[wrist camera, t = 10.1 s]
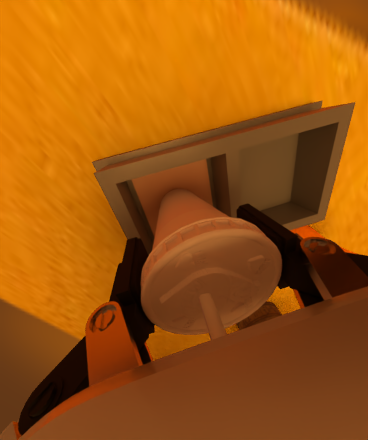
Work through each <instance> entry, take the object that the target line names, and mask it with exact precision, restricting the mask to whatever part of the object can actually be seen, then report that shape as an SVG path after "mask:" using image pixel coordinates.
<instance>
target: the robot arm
mask: <svg viewBox="0 0 368 440" xmlns="http://www.w3.org/2000/svg"><path fill="white" fill-rule="evenodd" d="M236 213H237V218H240V219H243V220H245V221H247V222H250V223H252V224H254V225H256V226H257V227H258V228H259V229H260V230H261V231H262V232H263V233H264V234H265V235H266V237H268V238H269V239H270V240H271V241H272V242H273V243H274V244H275V245H276V246H277V248H278V250H279V252H280V254H281V258H282V272H281V277H280V279H279V282H278V285H277V286H278V287H279V288H280V289H282V288H285V287H288V286H289V287H290V288H292V289H293V291H294V294H295V296H296V298H297V301H298V303H299V306H300V308H301V309H299V310H296V311H293V312H290V313H287V314H284V315H281V316H278V317H276V318H273V319H270V320H267V321H264V322H261V323H259V324H256V325H253V326H250V327H247V328H244V329H242V330H239V331H236V332H233V333H230V334H227V335H225V336H222V337H219V338H216V339H213V340H210V341H208V342H205V343H202V344H199V345H197V346H194V347H191V348H188V349H185V350H183V351H180V352H177V353H174V354H171V355H169V356H166V357H163V358H160V359H158V360H155V361H153V359H152V356H151V354H150V351H149V349H148V346H147V344H146V340H147V339H148V337H149V334H151V333H154V325H155V324H153V323H152V322H151V321H150V320H149V319H148V318H147V316H146V315H145V313H144V311H143V308H142V305H141V285H140V282H141V273H142V268H143V266H144V264H145V262H146V260H147V258H148V256H149V255H148V253H147V251H146V249H145V246H144V244H143V242H142V240H141V238H139V239H138V238H137V237H134V238H131V239H128V240H127V243H126V248H125V252H124V256H123V261H122V263H120V264H119V265H118V268H117V272H116V276H115V280H114V284H113V288H112V292H111V296H110V300H109V302H106V303H104V304H102V305H101V306H99V307H98V308H97V309H96V310H95V311H94V312H93V313H92V314H91V316H90V317H89V319H88V321H87V323H86V328H85V334H86V336H85V337H84V338H83V339H82V340H81V341H80V342H79V343H78V344H77V345H76V346H75V347H74V348H73V349H72V350H71V351H70V352H69V354H68V355H67V356H66V357H65V358H64V359H63V360H62V361H61V362H60V363H59V364H58V365H57V366H56V367H55V368H54V370H52V372H51V373H50V374H49V375H48V376H47V377H46V378H45V379H44V380H43V381H42V382H41V383H40V384H39V385H38V387H37V388H36V389H35V390H34V391H33V392H32V394H31V395H30V397H29V399H28V400H27V402H26V403H25V406H24V408H23V410H22V412H21V415H20V418H19V420H18V421H17V422H14V421H12V423H10V424H9V425H8V427H7V428H6V429H5V430H4V431H3V432H2V433H1V434H0V440H368V256H365V255H359V254H353V253H347V252H344V251H343V250H342V249H341V248H340V246H338V245H337V244H336V243H335V242H333V241H331V240H328V239H325V238H321V237H307V238H304V239H303V240H301V239H299V238H298V236H297V235H296V234H294V233H293V232H291V231H290V230H288V229H287V228H285V227H284V226H282V225H281V224H279V223H278V222H276V221H274V220H273V219H271V218H270V217H268V216H267V215H265V214H264V213H262V212H261V211H259V210H258V209H256V208H255V207H253V206H251V205H250V204H248V203H247V204H244V205H240V206H239V207H238V209H237V210H236Z"/></svg>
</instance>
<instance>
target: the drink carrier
mask: <svg viewBox="0 0 368 440" xmlns="http://www.w3.org/2000/svg"><path fill="white" fill-rule="evenodd" d="M354 105H355V102H354V103H348V104H343V105H337V106H331V107H326V108H321V106H322V101H319V102H314V103H310V104H306V105H303V106H299V107H295V108H291V109H288V110H284V111H280V112H276V113H273V114H269V115H265V116H261V117H258V118H254V119H250V120H246V121H243V122H239V123H235V124H231V125H228V126H224V127H220V128H216V129H213V130H209V131H205V132H202V133H198V134H194V135H190V136H187V137H183V138H179V139H175V140H172V141H168V142H164V143H160V144H157V145H153V146H149V147H145V148H142V149H138V150H134V151H130V152H127V153H123V154H119V155H115V156H112V157H108V158H104V159H100V160H97V161H94V162H92V163H93V165H94V167H95V169H96V171H97V172H95V173H94V175H95V177H96V179H97V180H98V182H99V184H100V186H101V188H102V190H103V192H104V194H105V196H106V198H107V200H108V202H109V204H110V206H111V208H112V210H113V212H114V214H115V216H116V218H117V220H118V221H119V223H120V225H121V227H122V229H123V231H124V233H125V235H126V237H127V239H131V238H134V237H137V238H138V239H139V238H141V240H142V242H143V244H144V246H145V249H146V251H147V253H148V255H149V254H150V253H151V252H152V248H153V244H154V238H155V232H156V226H157V221H158V215H159V209H160V204H161V201H162V199H163V197H164V196H165V195H166V194H167V193H168V192H170V191H172V190H174V189H186V190H188V191H190V192H191V193H193V194H195V195H196V196H198V197H199V198H201V199H202V200H204V201H205V202H207V203H208V204H210V205H211V206H213V207H214V208H216V209H218V210H219V211H221V212H222V213H224V214H226V215H227V216H229V217H232V218H237V213H236V210H237V209H238V207H239V206H240V205H244V204H247V203H248V204H250V205H251V206H253V207H255V208H256V209H258V210H259V211H261V212H262V213H264V214H265V215H267V216H268V217H270V218H271V219H273V220H274V221H276V222H278V223H279V224H281V225H282V226H284V227H285V228H287V229H288V230H293V229H296V228H299V227H303V226H306V225H309V224H312V223H315V222H318V221H322V220H325V216H326V212H327V208H328V204H329V201H330V197H331V193H332V189H333V185H334V182H335V178H336V174H337V170H338V166H339V162H340V159H341V155H342V151H343V147H344V143H345V140H346V136H347V132H348V128H349V124H350V121H351V117H352V113H353V109H354Z"/></svg>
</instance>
